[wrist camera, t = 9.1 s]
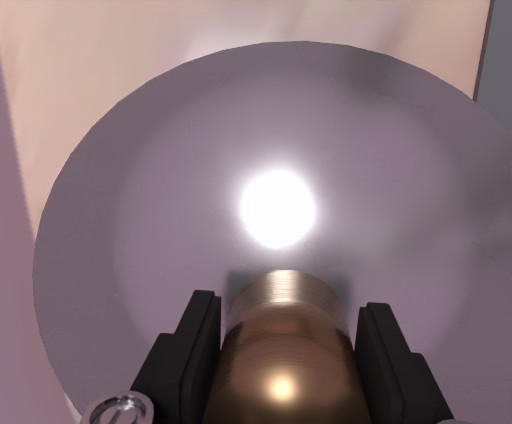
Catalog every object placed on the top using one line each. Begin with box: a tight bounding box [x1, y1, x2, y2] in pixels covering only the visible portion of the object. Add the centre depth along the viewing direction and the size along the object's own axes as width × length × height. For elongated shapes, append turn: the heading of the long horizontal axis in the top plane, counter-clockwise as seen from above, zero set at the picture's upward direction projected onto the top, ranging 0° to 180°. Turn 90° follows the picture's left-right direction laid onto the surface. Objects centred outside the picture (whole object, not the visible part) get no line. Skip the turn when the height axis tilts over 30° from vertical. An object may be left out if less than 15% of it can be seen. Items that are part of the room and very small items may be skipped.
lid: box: [32, 41, 512, 424], centre depth 11 cm, size 16×16×5 cm
